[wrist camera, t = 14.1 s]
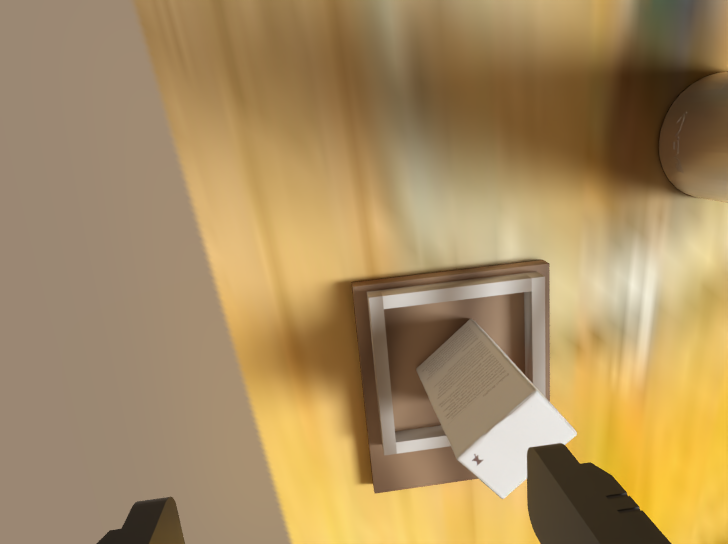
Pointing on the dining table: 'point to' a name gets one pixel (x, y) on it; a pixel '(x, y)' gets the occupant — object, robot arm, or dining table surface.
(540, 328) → the brown shallow box
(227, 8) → the dining table surface
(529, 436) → the skincare box
